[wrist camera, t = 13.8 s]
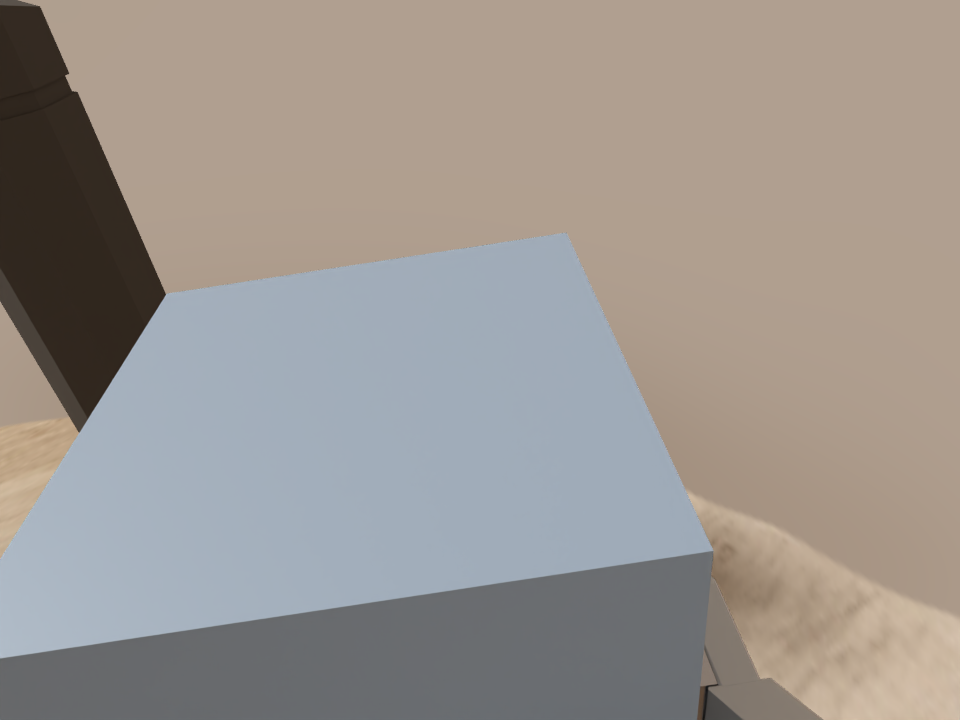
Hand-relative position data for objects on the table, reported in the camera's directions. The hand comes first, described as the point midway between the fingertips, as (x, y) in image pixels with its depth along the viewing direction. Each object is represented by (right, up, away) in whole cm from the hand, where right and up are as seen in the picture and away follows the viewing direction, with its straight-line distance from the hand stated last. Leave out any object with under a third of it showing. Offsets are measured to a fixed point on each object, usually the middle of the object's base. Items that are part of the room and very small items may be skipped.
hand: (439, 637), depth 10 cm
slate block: (+1, -6, +3) cm, 7 cm away
